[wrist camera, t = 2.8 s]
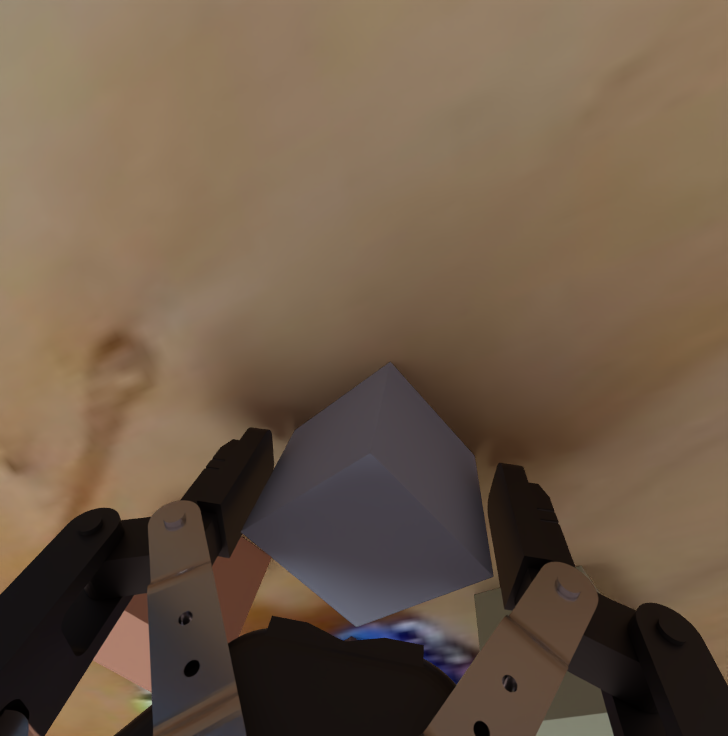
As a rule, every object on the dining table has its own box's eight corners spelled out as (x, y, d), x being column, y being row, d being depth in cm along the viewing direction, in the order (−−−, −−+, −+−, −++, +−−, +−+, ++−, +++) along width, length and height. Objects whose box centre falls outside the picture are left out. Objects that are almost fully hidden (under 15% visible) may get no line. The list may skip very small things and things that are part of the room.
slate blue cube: (474, 454, 15) (493, 576, 10) (376, 506, 17) (356, 627, 12) (390, 360, 13) (370, 452, 9) (295, 429, 15) (240, 531, 11)
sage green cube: (626, 630, 18) (691, 782, 13) (522, 651, 19) (550, 790, 15) (580, 563, 16) (637, 709, 12) (473, 593, 18) (488, 727, 14)
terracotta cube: (272, 555, 19) (224, 669, 15) (224, 593, 21) (170, 703, 17) (188, 499, 18) (111, 602, 14) (147, 545, 20) (69, 647, 16)
